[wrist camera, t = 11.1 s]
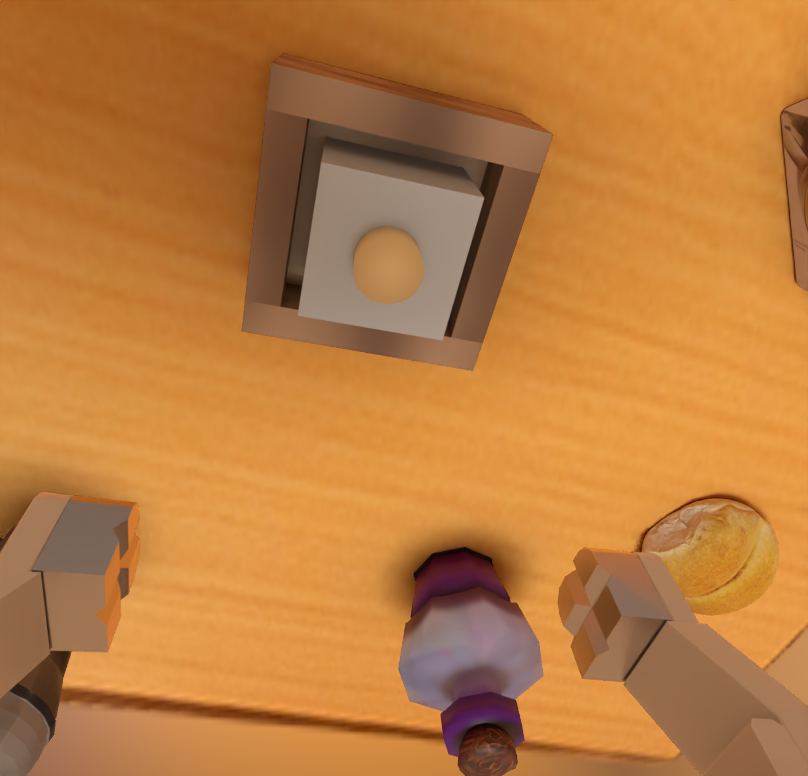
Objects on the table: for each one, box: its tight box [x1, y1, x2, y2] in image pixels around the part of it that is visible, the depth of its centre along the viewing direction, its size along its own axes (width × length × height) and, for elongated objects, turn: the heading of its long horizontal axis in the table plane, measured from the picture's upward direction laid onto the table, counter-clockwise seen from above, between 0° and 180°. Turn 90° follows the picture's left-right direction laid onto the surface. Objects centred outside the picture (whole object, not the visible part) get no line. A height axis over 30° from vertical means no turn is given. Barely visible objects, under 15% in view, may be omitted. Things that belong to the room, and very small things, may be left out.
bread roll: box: [641, 498, 779, 615], centre depth 39 cm, size 8×9×4 cm
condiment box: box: [242, 54, 553, 371], centre depth 25 cm, size 10×10×4 cm
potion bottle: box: [398, 547, 543, 776], centre depth 36 cm, size 9×9×12 cm
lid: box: [298, 137, 484, 340], centre depth 23 cm, size 6×6×6 cm
